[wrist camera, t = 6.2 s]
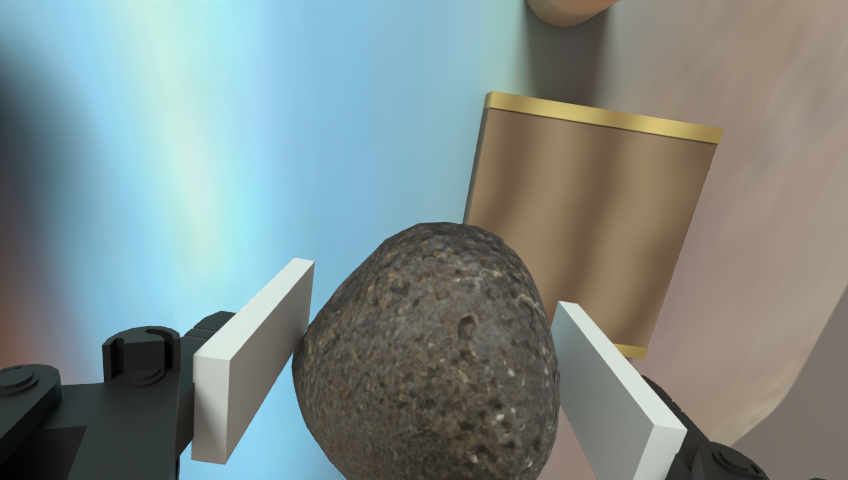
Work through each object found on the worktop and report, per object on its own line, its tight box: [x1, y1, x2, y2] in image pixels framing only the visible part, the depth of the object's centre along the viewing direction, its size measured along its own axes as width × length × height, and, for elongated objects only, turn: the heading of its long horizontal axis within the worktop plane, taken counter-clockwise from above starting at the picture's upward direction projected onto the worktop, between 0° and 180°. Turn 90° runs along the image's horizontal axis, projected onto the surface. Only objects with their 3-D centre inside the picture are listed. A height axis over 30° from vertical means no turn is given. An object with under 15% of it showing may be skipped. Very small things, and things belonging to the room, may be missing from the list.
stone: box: [292, 222, 560, 480], centre depth 14 cm, size 10×8×10 cm
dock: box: [463, 91, 724, 359], centre depth 30 cm, size 16×18×3 cm
